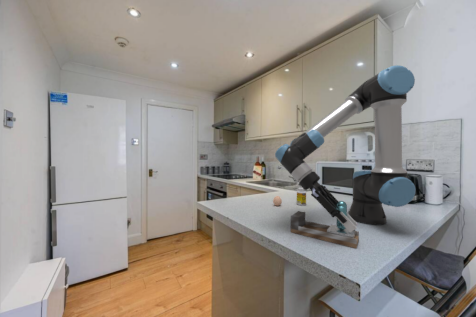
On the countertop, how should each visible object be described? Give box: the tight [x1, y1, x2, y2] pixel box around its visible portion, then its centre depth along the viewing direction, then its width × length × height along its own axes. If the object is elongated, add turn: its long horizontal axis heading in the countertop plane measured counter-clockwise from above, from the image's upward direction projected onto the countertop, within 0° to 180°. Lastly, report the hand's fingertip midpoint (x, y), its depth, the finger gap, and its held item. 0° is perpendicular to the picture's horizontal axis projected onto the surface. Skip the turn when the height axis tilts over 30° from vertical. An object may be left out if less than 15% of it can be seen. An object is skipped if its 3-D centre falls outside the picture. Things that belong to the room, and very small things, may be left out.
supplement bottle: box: [296, 187, 307, 206], centre depth 120 cm, size 6×6×10 cm
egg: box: [272, 195, 283, 207], centre depth 117 cm, size 5×5×6 cm
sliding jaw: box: [327, 200, 356, 238], centre depth 69 cm, size 8×7×12 cm
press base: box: [290, 210, 360, 249], centre depth 73 cm, size 22×8×6 cm, turn 54°
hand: (353, 228), depth 67 cm, fingers closed on sliding jaw, 3 cm apart
